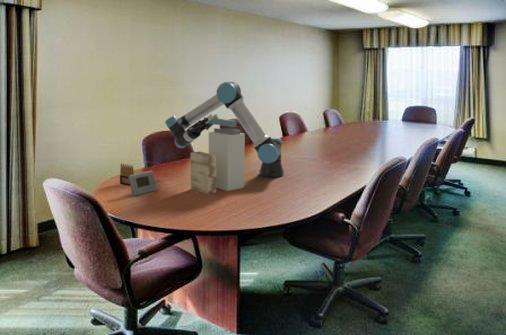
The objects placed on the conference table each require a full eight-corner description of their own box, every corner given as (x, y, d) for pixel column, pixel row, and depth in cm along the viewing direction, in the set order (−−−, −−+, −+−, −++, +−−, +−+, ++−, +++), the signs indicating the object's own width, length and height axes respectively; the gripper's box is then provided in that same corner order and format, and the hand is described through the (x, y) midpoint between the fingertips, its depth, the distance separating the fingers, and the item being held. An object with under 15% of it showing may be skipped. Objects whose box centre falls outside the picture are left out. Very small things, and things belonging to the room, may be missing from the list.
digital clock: (133, 197, 229) (132, 176, 227) (124, 193, 236) (123, 173, 233) (161, 191, 240) (160, 172, 238) (152, 188, 246) (151, 169, 244)
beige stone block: (199, 187, 251) (199, 151, 247) (216, 192, 241) (216, 155, 237) (191, 188, 247) (190, 152, 242) (207, 194, 237) (207, 156, 233)
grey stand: (225, 182, 263) (225, 127, 256) (244, 187, 252) (244, 129, 245) (208, 185, 254) (208, 128, 248) (227, 191, 243) (228, 131, 237)
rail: (207, 122, 259) (207, 117, 259) (236, 126, 243) (236, 120, 242) (203, 122, 257) (203, 117, 257) (232, 126, 241) (232, 121, 240)
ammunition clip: (135, 186, 251) (134, 164, 249) (132, 186, 250) (131, 165, 247) (122, 183, 257) (121, 162, 254) (119, 183, 255) (118, 163, 253)
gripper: (205, 138, 274) (227, 121, 257) (183, 140, 263) (205, 123, 246) (201, 126, 275) (223, 109, 258) (179, 128, 264) (200, 110, 247)
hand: (214, 116), depth 252 cm, fingers closed on rail, 3 cm apart
